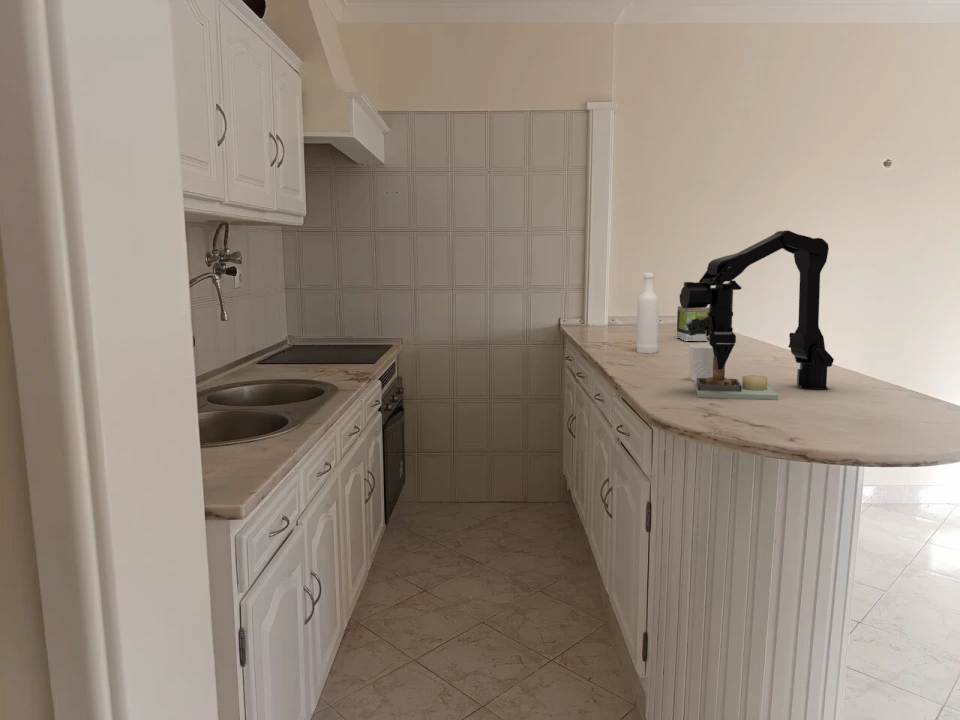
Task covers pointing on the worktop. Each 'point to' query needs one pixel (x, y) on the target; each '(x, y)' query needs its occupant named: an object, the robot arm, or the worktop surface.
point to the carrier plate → (738, 389)
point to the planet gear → (718, 376)
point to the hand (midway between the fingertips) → (718, 366)
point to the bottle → (647, 317)
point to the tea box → (686, 316)
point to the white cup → (701, 361)
